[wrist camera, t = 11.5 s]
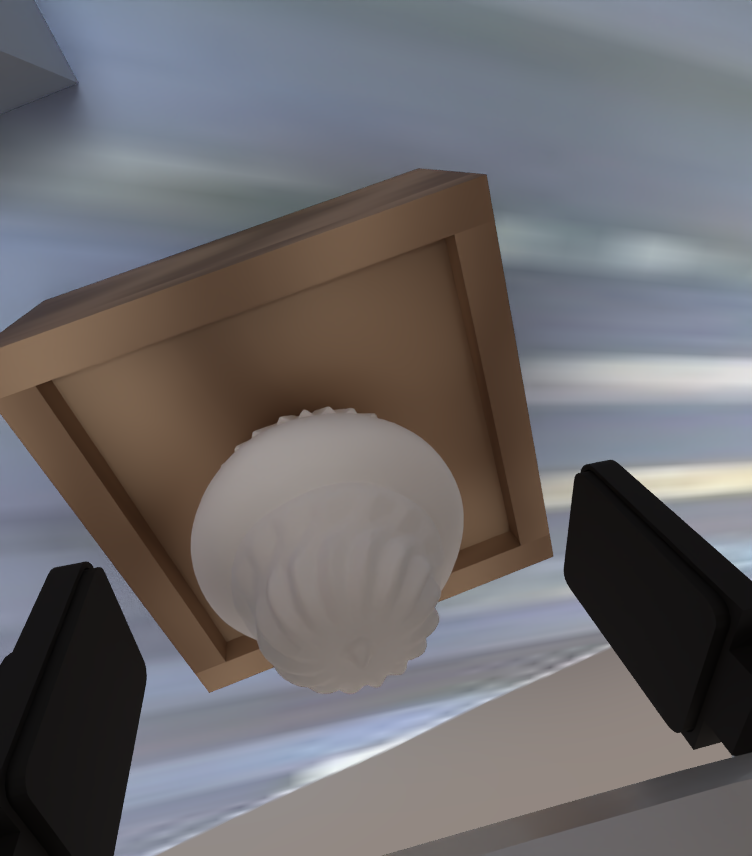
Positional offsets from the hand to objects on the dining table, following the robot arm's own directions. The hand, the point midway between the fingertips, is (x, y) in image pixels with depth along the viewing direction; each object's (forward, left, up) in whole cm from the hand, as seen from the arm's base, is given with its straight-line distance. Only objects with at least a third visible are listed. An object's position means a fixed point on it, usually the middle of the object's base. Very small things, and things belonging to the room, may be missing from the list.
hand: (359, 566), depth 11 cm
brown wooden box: (0, +1, -10) cm, 10 cm away
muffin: (0, 0, -5) cm, 5 cm away
